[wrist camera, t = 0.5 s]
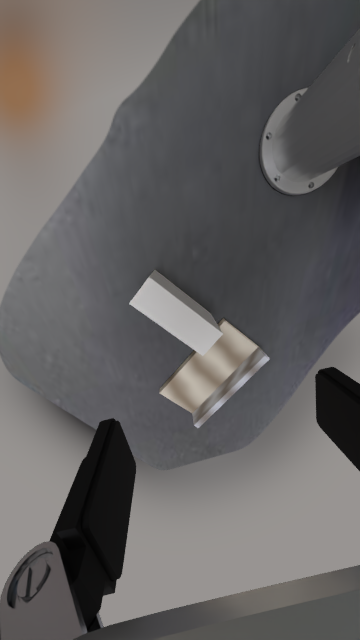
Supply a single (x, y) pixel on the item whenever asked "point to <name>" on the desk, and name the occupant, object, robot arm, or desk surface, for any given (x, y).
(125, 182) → the desk surface
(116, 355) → the desk surface
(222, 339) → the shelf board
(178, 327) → the carton
